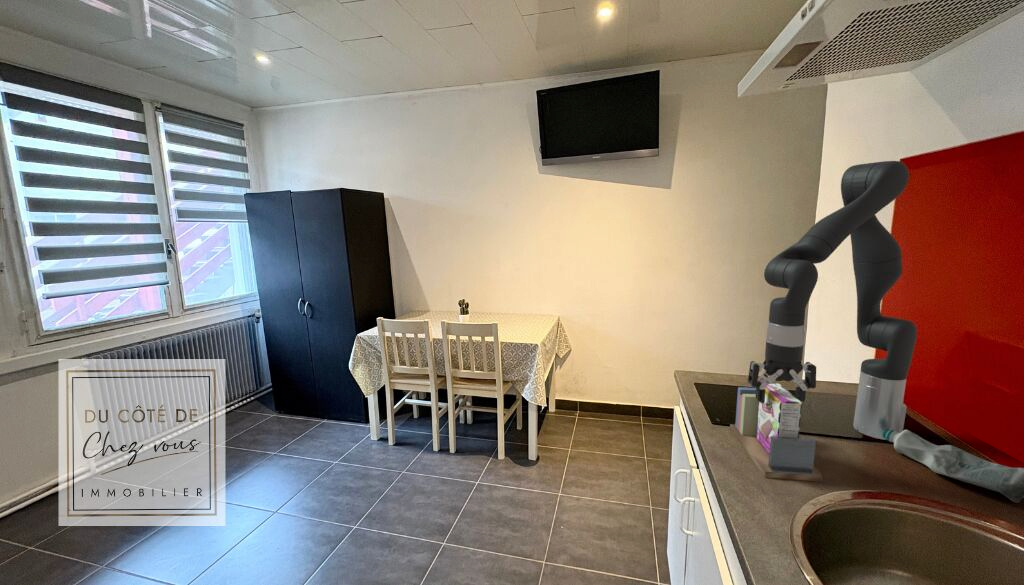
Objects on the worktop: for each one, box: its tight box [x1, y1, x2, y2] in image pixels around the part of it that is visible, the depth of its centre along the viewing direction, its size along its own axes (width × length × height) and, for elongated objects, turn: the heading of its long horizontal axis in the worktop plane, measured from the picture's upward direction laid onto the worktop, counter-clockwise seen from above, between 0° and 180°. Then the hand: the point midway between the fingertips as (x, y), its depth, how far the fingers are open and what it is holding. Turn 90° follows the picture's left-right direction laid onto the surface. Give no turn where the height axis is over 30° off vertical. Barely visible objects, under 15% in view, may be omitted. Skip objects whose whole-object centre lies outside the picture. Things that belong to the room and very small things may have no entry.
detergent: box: [882, 429, 1024, 504], centre depth 91 cm, size 13×7×25 cm
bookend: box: [768, 436, 817, 475], centre depth 91 cm, size 9×2×8 cm, turn 80°
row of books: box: [734, 386, 759, 436], centre depth 108 cm, size 10×5×12 cm, turn 80°
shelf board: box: [729, 423, 823, 482], centre depth 101 cm, size 12×22×2 cm, turn 170°
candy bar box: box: [756, 382, 803, 453], centre depth 98 cm, size 11×5×16 cm, turn 170°
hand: (779, 402), depth 97 cm, fingers open, 8 cm apart
